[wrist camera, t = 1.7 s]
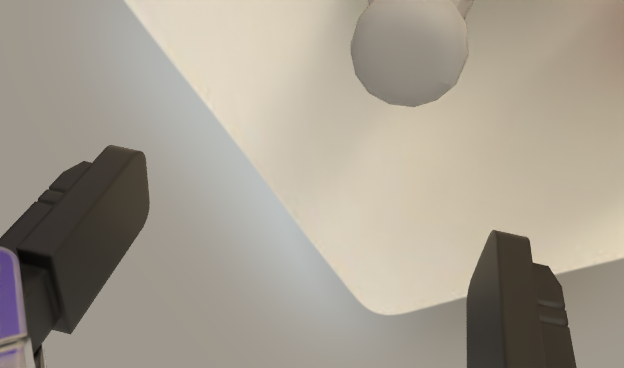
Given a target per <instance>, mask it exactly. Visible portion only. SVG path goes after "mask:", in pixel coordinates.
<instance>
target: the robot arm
mask: <svg viewBox="0 0 624 368" xmlns="http://www.w3.org/2000/svg"><path fill="white" fill-rule="evenodd" d="M148 212H149V191H148V180H147V167H146V158H145V155H144V153H143V152H141V151H137V150H133V149H128V148H124V147H119V146H114V145H109V146H107V147H106V148H105V149H104V150H103V152H102V153H101V154H100V155H99V156H98V157H97V158H96V159H95V160H94V162H93V163H90V162H86V161H83V162H81V163H79V164H78V165H76V166H74V167H72V168H70V169H68V170H66V171H65V172H63V173H62V174H61V175H60V176H59V177H58V178H57V179H56V180H55V181H54V182H53V183H52V184H51V186H50V187H49V190H46V191H45V192H44V193H43V194H42V195H41V196H40V197H39V198H38V201H37V202H34V203H33V204H32V205H31V206H30V208H29V209H28V210H27V211H26V212H25V213H24V214H23V215H22V216H21V217H20V218H19V219H18V220H17V221H16V222H15V223H14V224H13V225H12V226H11V227H10V229H9V230H8V231H7V232H6V233H5V234H4V235H3V236H2V237H1V238H0V368H47V364H46V356H45V348H44V345H43V341H44V340H45V338H46V337H47V335H48V334H49V333H50V331H51V330H56V331H60V332H64V333H68V334H71V333H72V332H73V330H74V329H75V327H76V326H77V324H78V323H79V321H80V320H81V318H82V317H83V315H84V314H85V312H86V311H87V310H88V308H89V307H90V305H91V304H92V302H93V301H94V299H95V298H96V296H97V294H98V293H99V292H100V290H101V289H102V287H103V286H104V284H105V283H106V281H107V280H108V278H109V277H110V275H111V274H112V273H113V271H114V270H115V268H116V267H117V265H118V264H119V262H120V261H121V259H122V258H123V256H124V255H125V253H126V251H127V250H128V249H129V247H130V246H131V244H132V243H133V241H134V240H135V238H136V237H137V235H138V234H139V232H140V231H141V230H142V228H143V226H144V224H145V222H146V219H147V216H148ZM467 368H576V363H575V357H574V352H573V346H572V341H571V336H570V330H569V328H568V319H567V314H566V311H565V303H564V297H563V292H562V286H561V285H560V283H559V282H558V281H557V279H556V277H555V276H554V274H553V273H552V271H551V270H550V268H549V266H545V265H540V264H536V263H533V262H532V255H531V247H530V241H529V239H528V238H527V237H523V236H519V235H514V234H510V233H505V232H501V231H496V230H493V231H492V232H491V233H490V235H489V237H488V239H487V242H486V244H485V246H484V249H483V251H482V254H481V256H480V259H479V261H478V263H477V266H476V268H475V271H474V273H473V275H472V278H471V281H470V285H469V289H468V295H467Z"/></svg>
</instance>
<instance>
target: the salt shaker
mask: <svg viewBox="0 0 624 368" xmlns="http://www.w3.org/2000/svg"><path fill="white" fill-rule="evenodd" d="M368 1H369V7H368V8H367V9H366V10H365V11H364V12H363V14H362V15H361V16H360V18H359V20H358V22H357V25H356V28H355V31H354V35H353V38H352V41H351V56H352V60H353V65H354V70H355V75H356V76H357V77H358V79H359V80H360V81H361V83H362V84H363V85H364V87H365V88H366V90H367V91H368V92H369V93H370V94H372V95H374V96H376V97H377V98H379V99H381V100H383V101H385V102H387V103H389V104H392V105H401V106H409V107H416V106H419V105H422V104H425V103H429V102H432V101H435V100H437V99H439V98H440V97H441V96H442V95H444V94H445V93H446V92H447V91H448V90H450V89H451V88H452V87H453V86H454V85H456V83H457V80H458V78H459V76H460V73H461V71H462V69H463V66H464V64H465V62H466V59H467V57H468V41H467V26H466V22H465V21H464V19H465V17H466V15H467V13H468V11H469V9H470V7H471V5H472V3H473V1H474V0H368Z"/></svg>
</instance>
